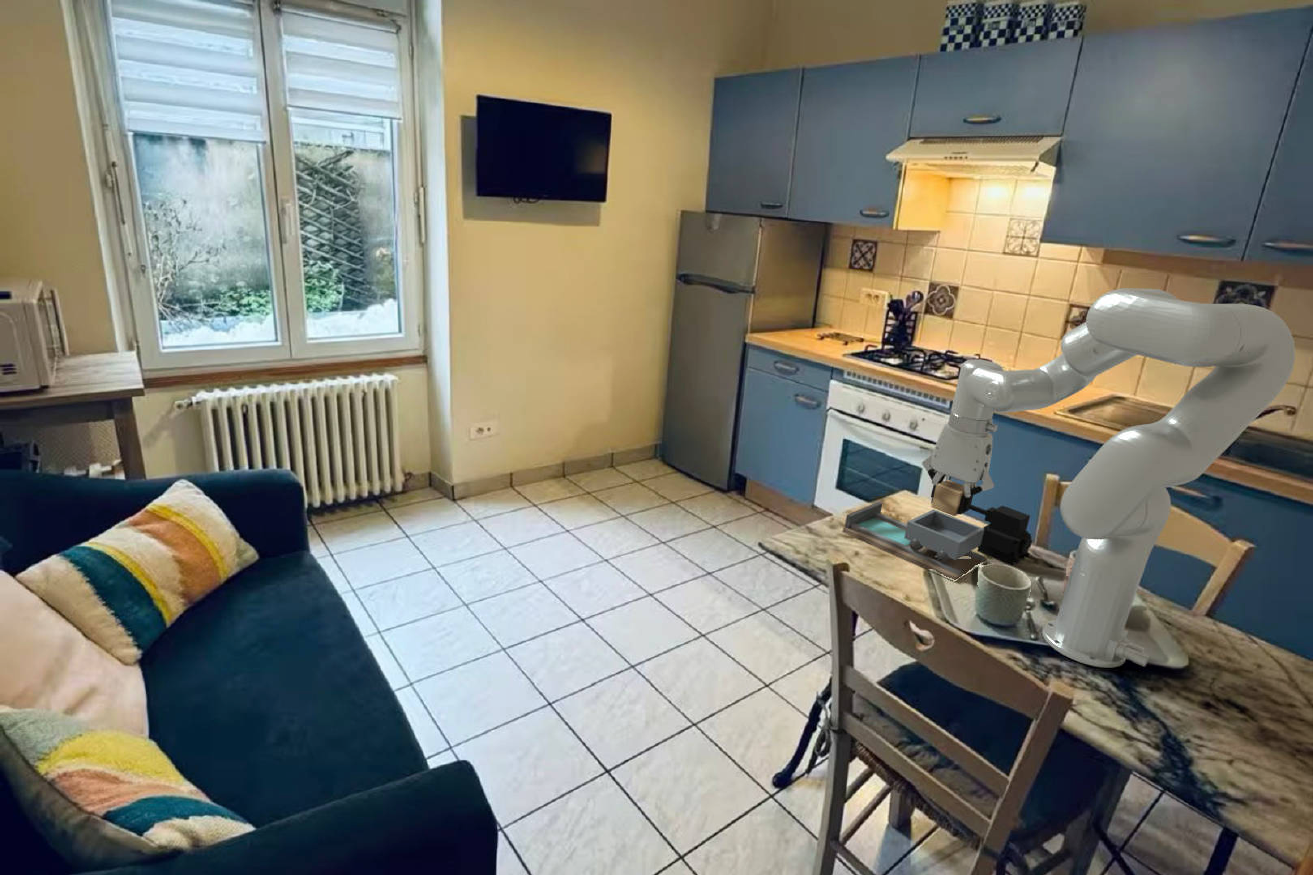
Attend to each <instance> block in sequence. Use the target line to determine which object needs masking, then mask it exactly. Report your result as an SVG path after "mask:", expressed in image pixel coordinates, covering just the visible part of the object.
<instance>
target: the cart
mask: <svg viewBox="0 0 1313 875" xmlns="http://www.w3.org/2000/svg"><path fill="white" fill-rule="evenodd" d="M906 524H907V527H906V532H905V537H904V538H905V539H908V540H910V544H909V545H910V548H911V549H912V550H914V551H918V550H920V549H922V548H923V546H924V547H926V548H929V549H931V550H933V551H936V552H938V553H937V559H938V560H939V561H940V562H941V563H946V562H947V561H949V560H950V559H951V558H952V559H954V560H956V559H958V558H960V557H962V556H963V555H965V554H967V553H968V552H970V551H973V550H975V549H976V548H977V547H978V546H980V545H981V541H982V537H983V533H984V528H983V527H980V526H978V525H976V524H973V523H970V522H967V521H965V520H963V519H961V518H957V517H956V516H952V515H950V514H947V513H945V512H942V511H940V510H937V509H935V508H933V509H932V510H929V511H927V512H925V513H923V514H921V515H918V516H917V517H915V518H912V519H910V520H908V521H907V522H906ZM977 549H978V548H977Z"/></svg>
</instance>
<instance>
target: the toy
mask: <svg viewBox="0 0 1313 875" xmlns="http://www.w3.org/2000/svg"><path fill="white" fill-rule="evenodd" d="M969 511H974V512H976V513H977V514H981V515H982V516H983V515H984V521H985V522H988V523H989V524H987V525H986V526H983V527H982V528H984V533H983V537H982V541H981V545H980V546H978V547H977V553H978V552H979V554H982V555H984V556H985V555H986V556H988V557H990V558H992V559H995V560H998V561H1000V562H1002V563H1004V564H1007V565H1009V564H1010V565H1009V566H1011V565H1013V566H1014V565H1018V564H1020V560H1024V559H1025V558H1026V559H1028V558H1029V557H1030V555H1031V553H1030V552H1029V549H1030V548H1031V547H1032V543H1033V540H1032V536H1031V535H1032V534H1031V533H1029V531H1028V530H1027V528H1028V525H1029V521H1030V517H1031V515H1029V514H1027V513H1024V512H1021V511H1018V510H1015V509H1013V508H1010V507H1008V506H1004V505H1001V506H999V507H997V508H995V507H993V506H992V507H990V508H988V509H985V508H982V507H979V506H976V505H974V504H971V506H970V509H969Z"/></svg>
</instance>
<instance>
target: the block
mask: <svg viewBox="0 0 1313 875" xmlns="http://www.w3.org/2000/svg"><path fill="white" fill-rule="evenodd" d="M963 495H964V484H962V483H961V484H960V483H958V482H956V481H952V480H951V479H947V480H944V481H943V482H942V483H939V484H937V485H936V488H935V493H934V497H933V501H932V500H931V501H932V503H931V507H930V508H933V509H934V510H937V511H939V512H942V513H945V514H947V515H950V516H952V517H956V516H957V515H959V514H958V508H959V504H960V500H961V497H962V496H963Z"/></svg>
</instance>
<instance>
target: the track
mask: <svg viewBox="0 0 1313 875" xmlns="http://www.w3.org/2000/svg"><path fill="white" fill-rule="evenodd" d="M882 508H883V502H880V501H876V502H874V503H872V504H870V505H868V506H864V507H862V508H860V509H857V510H855V511H853V512H850V513H848V514H846V517H845V522H844V527H843V528H842V533H845V534H847V535H849V536H851V537H853V538H855V539H858V540H860V541H862V542H865V543H867V544H869V545H871V546H873V547H875V548H878V549H880V550H882V551H885V552H887V553H888V554H891V555H893V556H896V557H898V558H900V559H902V560H904V561H906V562H908V563H911V564H914V565H915V566H917V567H920V568H922V569H924V570H926V571H928V570H927V569H934V570H936V571H937V572H939V573H940V574H943V575H944V576H946V577H949V578H952V579H954V580H956V579H958V578H959V577H961V576H962V575H963V574H966V573H967V572H968V571H969V570H971V569H972V568H973V567H974V566H975V565H978V564H980V563H981V562H985V561H986V562H987V560H988V558H987V557H986V556H985V555H984V554H981V553H978V552H975V551H973V550H972V551H970V552H968V553H967V554H965V555H963V556H969V557H971V559H956V560H954V559H952V558H951V559H950V560H949V561H947V562H946V563H941V562H940V561H939V560H938V559H937V557H935V556H937V553H938V552H936V551H933V550H931V549H929V548H926V547H924V546H923V548H922V549H920V550H918V551H914V550H912V549H911V548H910V545H909V544H910V540H908V539H905V538H904V537H905V532H906V527H907V523H905V522H902V521H900V520H898V519H895V518H892V517H890V516H888V515H885V514H883V513H881V512H882Z"/></svg>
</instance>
